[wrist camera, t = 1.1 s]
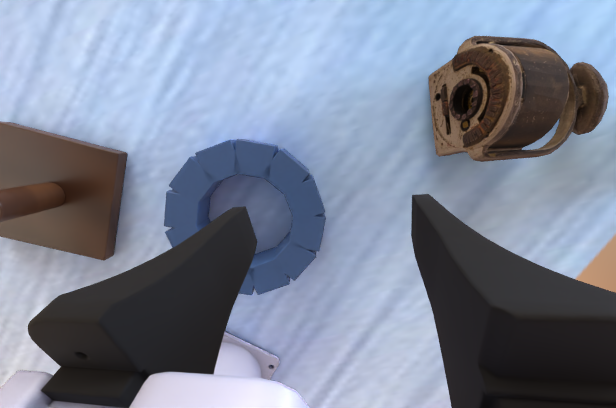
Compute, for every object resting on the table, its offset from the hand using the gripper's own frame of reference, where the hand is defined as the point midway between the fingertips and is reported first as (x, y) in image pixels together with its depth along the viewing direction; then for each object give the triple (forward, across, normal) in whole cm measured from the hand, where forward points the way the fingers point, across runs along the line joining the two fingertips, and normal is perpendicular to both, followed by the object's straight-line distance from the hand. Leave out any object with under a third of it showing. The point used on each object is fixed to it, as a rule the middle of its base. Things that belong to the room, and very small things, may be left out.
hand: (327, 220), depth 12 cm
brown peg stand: (+7, +22, +1) cm, 23 cm away
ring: (+9, +8, +5) cm, 13 cm away
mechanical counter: (+15, -12, +1) cm, 19 cm away
